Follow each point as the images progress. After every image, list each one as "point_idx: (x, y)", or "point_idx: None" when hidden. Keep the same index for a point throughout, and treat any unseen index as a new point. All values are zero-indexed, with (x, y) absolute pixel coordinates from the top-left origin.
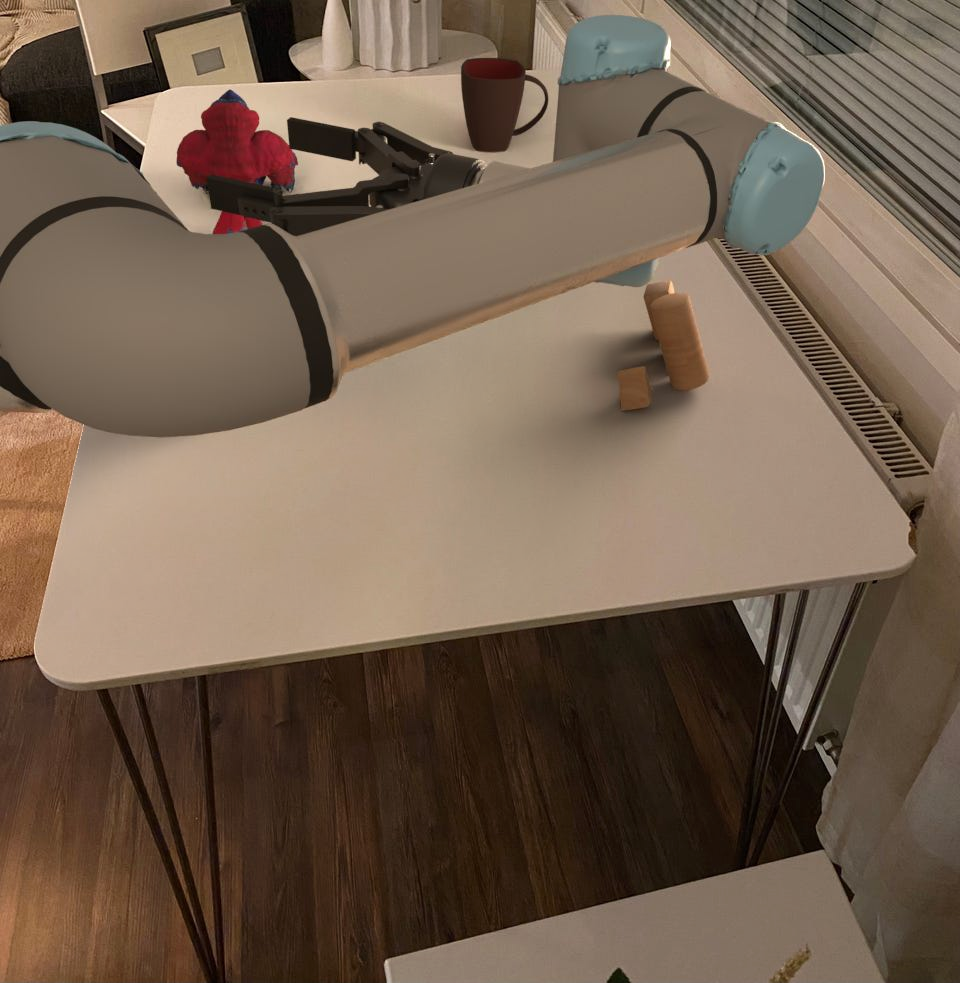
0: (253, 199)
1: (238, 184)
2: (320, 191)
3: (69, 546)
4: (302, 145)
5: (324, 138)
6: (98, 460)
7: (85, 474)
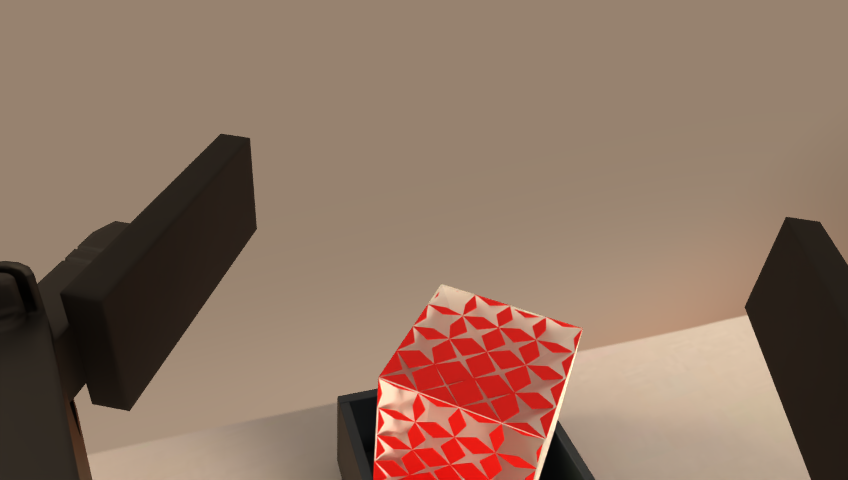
0: (95, 256)
1: (163, 191)
2: (74, 459)
3: None
4: (768, 326)
5: (821, 363)
6: (234, 439)
7: (201, 434)
